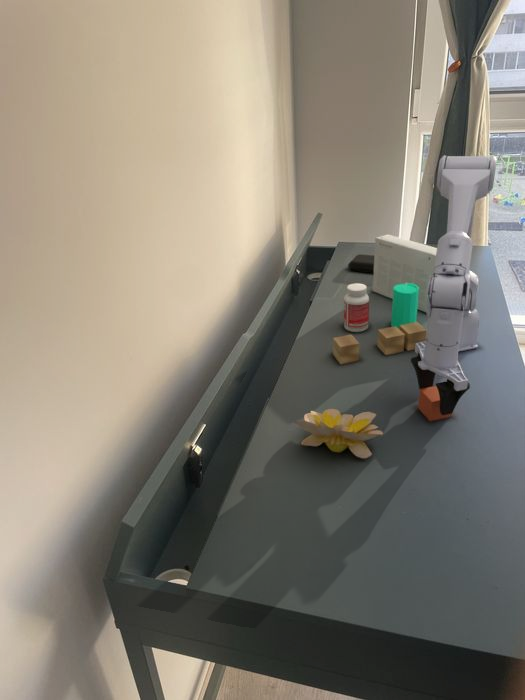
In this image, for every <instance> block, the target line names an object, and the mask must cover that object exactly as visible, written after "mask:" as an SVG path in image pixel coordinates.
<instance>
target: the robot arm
mask: <svg viewBox="0 0 525 700" xmlns="http://www.w3.org/2000/svg"><path fill="white" fill-rule="evenodd" d="M497 161H498V159H497V157H496V155H494V154H493V155H480V156H479V155H467V156H466V155H457V156H456V155H454V156H453V155H450V156H449V155H448V156H447V155H442V156H441V158H440V159H439V163H438V169H437V176H436V188H437V190H438V191H439V192H440V196H441V197H443V198H445V199H446V200H448V206H447V207H448V209H447V224H446V225H447V226H446V233H444V235H442V236H441V237H440V238H439V239H438V241H437V247H436V248H437V252H436V258H435V265H434V271H433V277H431V276H430V278H429V282H428V288H427V298H426V300H427V313H426V317H427V323H426V330H427V332H426V342H420V343H416V346H415V349H414V352H415V354H417V356H413V357H411V358H410V363H411V365H412V366H413V369H414V371H415V374H416V375H415V376H416V379H417V384H418V389H419V391H420V389H423V388H428V387H433V386H434V382H435V377H436V374H437V375H439V376H440V377H442V378H444V379H446V381H442V382H437V383H435V386H436V387H437V389H438V392H439V396H440V413H441V414H442V415H447V414H452V415H453V413H454V410H455V409H456V406H457V404H458V403H459V401H460V399H461V398H462V397H463V396H464V395H465V394H466V392H467V391H469V390H470V388H471V384H470V382H469V379H468V378H467V377H466V376H465V374H464V372H463V370H462V367H461V364H460V362H459V359H458V357H459V352H463V351H468V350H469V351H470V350H475V349H478V348H479V345H478V344H477V341H478V336H479V335H478V334H479V328H480V314H479V312H478V310H477V309H476V308H477V307H476V305H477V299H478V292H479V280H480V279H479V278H478V275H477V274H476V273H474V271H471V269H470V268H471V261H472V253H473V246H474V242H473V239H471V238H472V232H473V230H472V229H473V222H474V215H475V206H476V202H477V201H479V200H480V199H483V198H485V197H488V194H490V193H491V192H492V190H493V189H494V184H495V176H496V169H497V163H498V162H497Z"/></svg>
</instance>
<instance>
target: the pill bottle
mask: <svg viewBox="0 0 525 700" xmlns="http://www.w3.org/2000/svg"><path fill="white" fill-rule="evenodd" d="M367 290H368V289H367V285H366V284H363V283H358V282H355V283H350V284H348V285H347V286H346V294H345V295H344V297H343V327H344V329H346V331H348V332H352V333H360V332H364V331H366V330H367V329H368V328H369V324H370V323H369V322H370V321H369V320H370V297H369V296H370V295H368V293H367Z"/></svg>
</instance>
